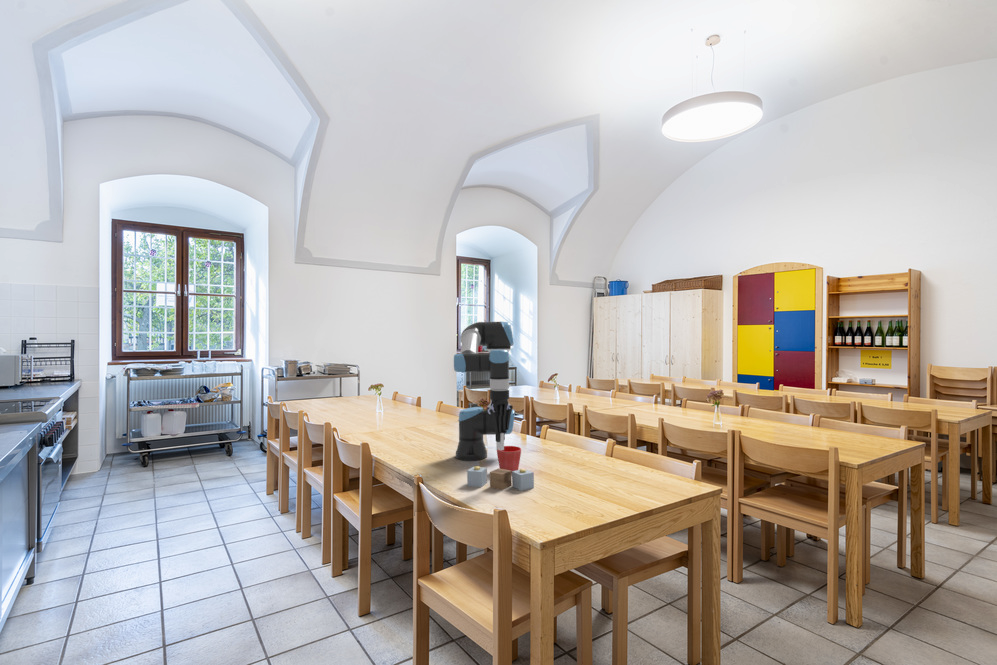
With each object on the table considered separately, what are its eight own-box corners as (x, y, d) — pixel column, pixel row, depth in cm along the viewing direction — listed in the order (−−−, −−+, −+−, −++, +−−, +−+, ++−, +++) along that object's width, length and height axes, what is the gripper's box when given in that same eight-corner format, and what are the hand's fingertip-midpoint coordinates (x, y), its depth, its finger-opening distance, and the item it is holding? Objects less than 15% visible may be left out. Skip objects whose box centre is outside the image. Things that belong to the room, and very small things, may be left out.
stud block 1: (473, 481, 201) (472, 464, 201) (487, 482, 200) (486, 465, 200) (467, 486, 196) (467, 468, 196) (481, 487, 194) (481, 469, 194)
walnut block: (498, 483, 199) (498, 468, 199) (511, 485, 195) (511, 470, 195) (490, 487, 194) (489, 472, 194) (503, 490, 190) (502, 474, 190)
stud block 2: (525, 484, 197) (524, 466, 197) (533, 488, 192) (533, 470, 192) (512, 486, 194) (512, 469, 194) (520, 490, 189) (520, 472, 189)
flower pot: (522, 467, 221) (521, 445, 221) (520, 474, 210) (520, 451, 210) (498, 467, 222) (497, 445, 222) (495, 474, 211) (495, 451, 211)
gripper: (503, 386, 203) (504, 444, 203) (480, 390, 193) (481, 451, 194) (517, 388, 198) (518, 447, 198) (494, 392, 188) (495, 454, 189)
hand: (500, 449), depth 196 cm, fingers closed
